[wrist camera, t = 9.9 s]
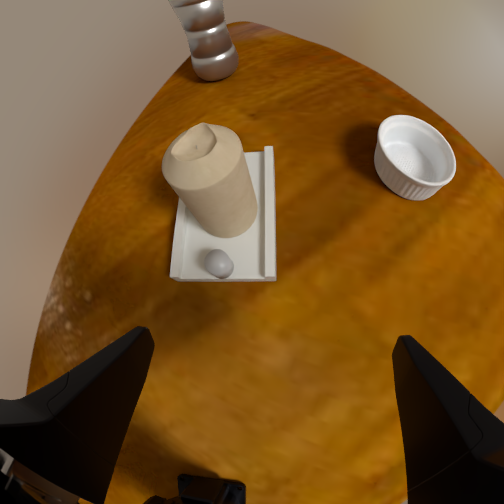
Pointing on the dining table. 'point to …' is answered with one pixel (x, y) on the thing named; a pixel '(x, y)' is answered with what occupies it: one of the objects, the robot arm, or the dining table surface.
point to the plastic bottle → (207, 37)
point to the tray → (231, 249)
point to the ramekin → (413, 157)
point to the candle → (212, 179)
